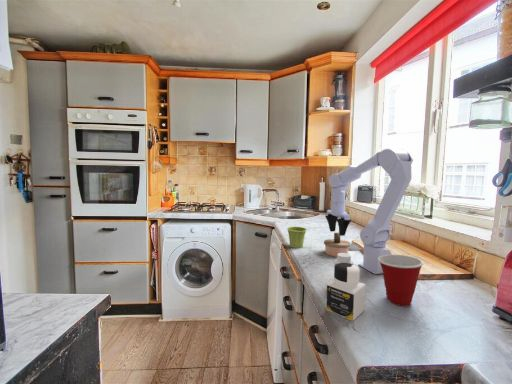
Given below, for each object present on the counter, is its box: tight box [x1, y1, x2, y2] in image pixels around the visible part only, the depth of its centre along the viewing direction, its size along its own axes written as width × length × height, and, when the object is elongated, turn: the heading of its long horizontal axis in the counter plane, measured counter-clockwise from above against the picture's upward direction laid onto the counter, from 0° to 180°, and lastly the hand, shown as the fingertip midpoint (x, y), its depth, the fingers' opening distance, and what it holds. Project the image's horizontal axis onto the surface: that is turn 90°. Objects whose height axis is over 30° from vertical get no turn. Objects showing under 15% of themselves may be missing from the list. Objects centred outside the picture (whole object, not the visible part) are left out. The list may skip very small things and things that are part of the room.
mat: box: [348, 243, 362, 252], centre depth 117 cm, size 12×12×1 cm
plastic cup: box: [378, 254, 424, 307], centre depth 69 cm, size 11×11×12 cm
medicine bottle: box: [326, 263, 366, 322], centre depth 64 cm, size 7×7×12 cm
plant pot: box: [286, 226, 307, 249], centre depth 119 cm, size 9×9×9 cm
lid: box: [323, 232, 352, 248], centre depth 107 cm, size 11×11×5 cm
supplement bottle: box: [333, 253, 354, 267], centre depth 77 cm, size 6×6×10 cm
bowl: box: [324, 244, 349, 258], centre depth 108 cm, size 9×9×4 cm
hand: (337, 233), depth 107 cm, fingers open, 7 cm apart
